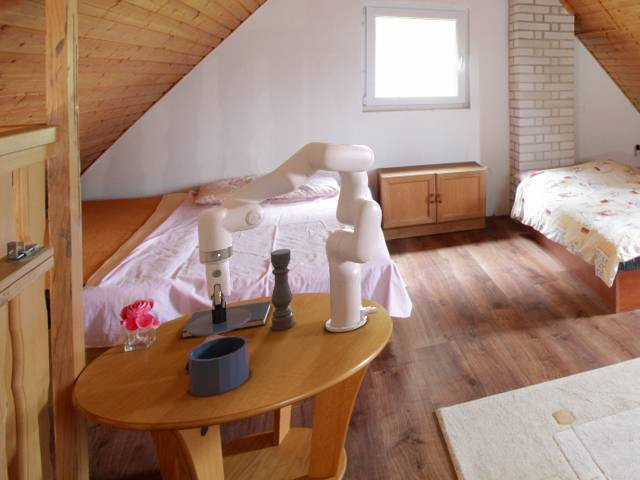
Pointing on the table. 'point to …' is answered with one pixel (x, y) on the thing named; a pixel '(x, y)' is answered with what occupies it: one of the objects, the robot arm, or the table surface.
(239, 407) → the table surface
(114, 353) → the table surface
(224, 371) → the blue pot
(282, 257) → the candle holder
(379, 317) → the table surface
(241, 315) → the lid
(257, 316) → the hardcover book
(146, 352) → the table surface
